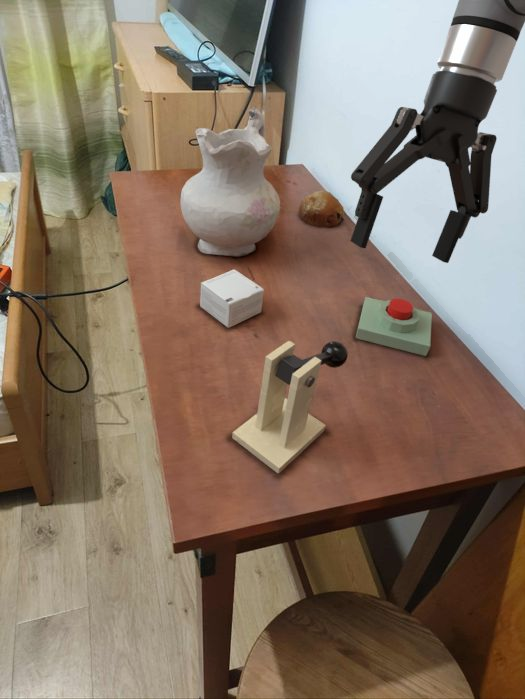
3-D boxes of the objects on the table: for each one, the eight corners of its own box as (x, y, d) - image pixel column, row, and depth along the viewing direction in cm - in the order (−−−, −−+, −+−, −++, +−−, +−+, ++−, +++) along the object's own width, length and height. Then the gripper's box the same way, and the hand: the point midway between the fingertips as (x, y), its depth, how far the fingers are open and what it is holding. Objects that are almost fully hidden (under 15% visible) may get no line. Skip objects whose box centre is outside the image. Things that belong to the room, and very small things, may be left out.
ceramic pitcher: (202, 215, 117) (195, 98, 101) (286, 224, 114) (293, 105, 98) (172, 263, 100) (158, 131, 84) (269, 275, 98) (274, 141, 82)
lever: (325, 357, 73) (334, 335, 71) (345, 369, 71) (356, 347, 70) (268, 376, 61) (278, 351, 60) (291, 392, 60) (302, 366, 58)
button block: (428, 322, 92) (435, 304, 89) (426, 356, 85) (434, 338, 82) (362, 306, 94) (367, 288, 91) (355, 338, 86) (360, 319, 84)
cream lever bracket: (279, 400, 73) (293, 325, 64) (324, 431, 70) (345, 356, 61) (231, 438, 67) (239, 360, 58) (278, 474, 64) (294, 397, 55)
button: (410, 310, 88) (413, 302, 87) (409, 323, 85) (412, 315, 84) (387, 304, 89) (390, 296, 87) (385, 317, 86) (388, 309, 84)
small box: (232, 292, 93) (234, 267, 90) (262, 313, 89) (265, 288, 86) (198, 306, 88) (199, 281, 85) (228, 329, 84) (230, 304, 81)
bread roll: (317, 220, 126) (310, 188, 123) (354, 217, 120) (347, 182, 117) (296, 233, 120) (288, 200, 117) (333, 230, 114) (326, 195, 110)
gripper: (518, 102, 67) (453, 256, 76) (361, 44, 57) (307, 229, 66) (565, 108, 61) (488, 274, 70) (397, 43, 51) (332, 247, 60)
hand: (400, 252), depth 68 cm, fingers open, 13 cm apart
